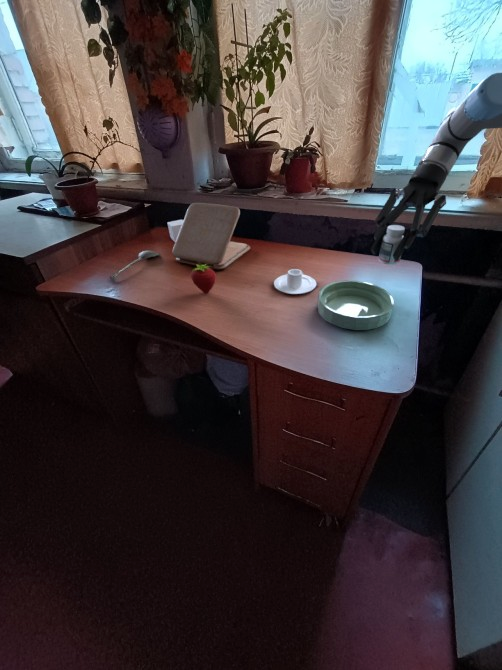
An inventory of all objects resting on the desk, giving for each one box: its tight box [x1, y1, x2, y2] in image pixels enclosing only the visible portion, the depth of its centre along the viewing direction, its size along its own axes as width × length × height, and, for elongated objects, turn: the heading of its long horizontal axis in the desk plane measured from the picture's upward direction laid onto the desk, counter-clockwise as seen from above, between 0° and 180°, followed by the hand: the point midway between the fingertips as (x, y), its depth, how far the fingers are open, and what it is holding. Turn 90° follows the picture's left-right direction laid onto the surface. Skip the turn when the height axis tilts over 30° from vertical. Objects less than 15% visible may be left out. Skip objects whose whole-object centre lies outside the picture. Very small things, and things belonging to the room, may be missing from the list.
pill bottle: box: [378, 224, 406, 266], centre depth 80 cm, size 5×5×9 cm
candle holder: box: [273, 268, 317, 295], centre depth 88 cm, size 12×12×4 cm
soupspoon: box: [109, 249, 160, 282], centre depth 104 cm, size 22×3×7 cm
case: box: [171, 202, 251, 271], centre depth 104 cm, size 20×21×16 cm
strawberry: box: [190, 264, 217, 295], centre depth 85 cm, size 6×8×10 cm
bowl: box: [316, 280, 395, 331], centre depth 76 cm, size 17×17×4 cm
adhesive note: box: [167, 219, 184, 243], centre depth 122 cm, size 6×6×6 cm
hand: (383, 254), depth 79 cm, fingers closed on pill bottle, 5 cm apart
